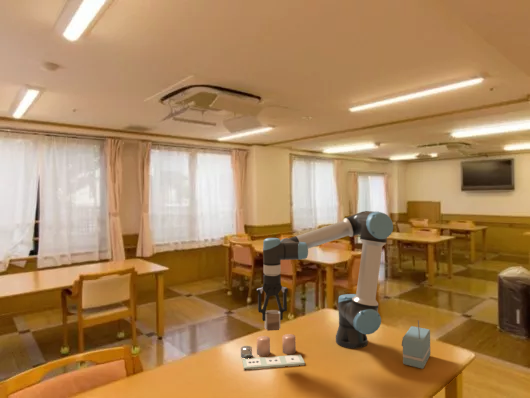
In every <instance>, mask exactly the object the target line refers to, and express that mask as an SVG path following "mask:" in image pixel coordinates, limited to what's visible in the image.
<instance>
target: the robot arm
mask: <svg viewBox="0 0 530 398" xmlns="http://www.w3.org/2000/svg"><path fill="white" fill-rule="evenodd" d="M393 224H394V223H393V221H392V219H391V217H390V216H389V215H388V214H387V213H384V212H381V211H369V210H364V211H361V212H357V213H354V214H351V215H350V216H347V217H344V218H343V220H341V221H338V222H335V223H332V224H329V225H326V226H322V227H320V228H317V229H314V230H311V231H307V232H305V233H301V234H298V235H295V236H292V237H286V238H282V239H280V238H277V237H267V238H264V239H263V244H262V253H263V254H262V258H263V259H262V262H263V263H262V264H263V275H262V277H263V280H262V281H263V284H262V287H258V288H256V291H257V292H256V293H257V310H258V313H259V314H261V316H262V317H261V318H262V322H264V329H265V330H267V312H266V311H267V308H268V305H269V299H270V297H275V299H276V303H277V307H278V310H277V311H278V313H279V330H280V329H281V321H283V318H284V317H283V315H284V312H288V311H287V310H288V301H287V299H288V298H287V294H288V291H289V289H288V288H287V287H286V286H285V287H284V286H282V283H281V282H282V280H281V279H282V278H281V277H282V275H281V273H282V271H281V267H282V266H281V262H282V261H284V260H285V261H290V260H294V261H295V260H298V261H299V260H306V259H307V258H308V257H309V256H308V255H309V249H311V248H314V247H317V246H321V245H324V244H327V243H330V242H333V241H337V240H339V239H341V238H345V237H351V238H353V237H355V236H359V241H360V242H361V244H362V246H361V253H360V254H361V255H360V261H359V262H360V263H359V270H358V276H357V278H358V279H357V286H356V293H347V294H346V293H345V294H341V295H339V296H338V302H337V303H338V304H337V305H338V328H337V330H336V334H335V342H336V344H337V345H339V346H341V347H344V348H346V349H347V348H348V349H362V348H364V347H367V345H368V343H369V342H368V336H367V335H371V334H374V333H375V332H376V331H378V330H379V329H380V327H381V325H382V317H381V315H380V313H379V302H378V301H377V299H376V298H377V290H378V282H379V273H380V266H381V258H382V251H383V246H385V245H386V244H387V241H388V238H389V237H390V236H391V235H392V234H393V230H394V225H393ZM263 292H264V293H265V296H264V297H265V298H264V301H263V305H262V294H263ZM280 292H282V303H281V299H280V296H279V295H280V294H279V293H280Z"/></svg>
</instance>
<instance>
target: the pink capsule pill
mask: <svg viewBox="0 0 530 398" xmlns="http://www.w3.org/2000/svg"><path fill="white" fill-rule="evenodd" d="M256 354H257V356H258V355H259V356H258V357H261V356H265V357H268V356H270V355H271V337H270V336H267V335H259V336H258V337H256ZM269 354H270V355H269ZM267 355H268V356H267Z"/></svg>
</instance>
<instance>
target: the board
mask: <svg viewBox="0 0 530 398" xmlns="http://www.w3.org/2000/svg"><path fill="white" fill-rule="evenodd" d="M305 363H306V362H305V360H304V358H303V357H302V354H291V355H288V354H286V355H277V356H276V355H275V356H265V357H252V358H249V359H242V367H244V368H243V370H244V369H252V370H259V369H258V368H264V369H271V368H270V367H276V368H284V367H285V366H288V367H296V366H297V367H299V365H300V366H306V364H305ZM285 368H286V367H285Z"/></svg>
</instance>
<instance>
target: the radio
mask: <svg viewBox="0 0 530 398" xmlns="http://www.w3.org/2000/svg"><path fill="white" fill-rule="evenodd" d="M401 340H402V341H401V346H402V363H403V365H406V366H409V367H413V368H417V369H424V368H425V366H426V364H427V362H428V361H429V358H430V355H431V329H428V328H425V327H423V328H422V327H420V320H417V326H415V325H414V326H413V325H411V326H410V327H409V329H408V330H407V332H406V333H405V334H404V335H403V336H402V339H401Z"/></svg>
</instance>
